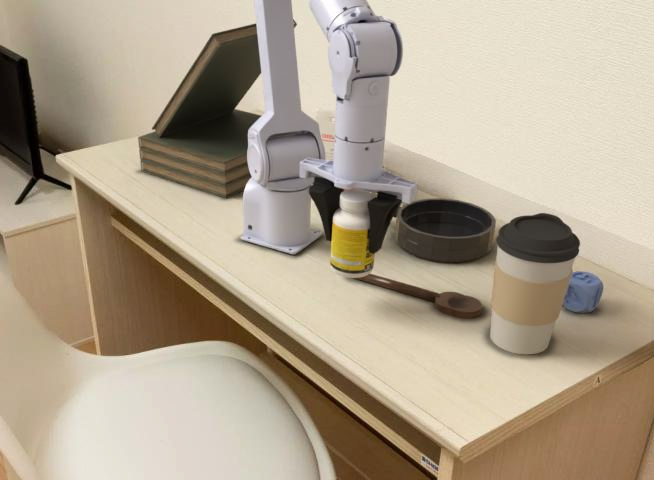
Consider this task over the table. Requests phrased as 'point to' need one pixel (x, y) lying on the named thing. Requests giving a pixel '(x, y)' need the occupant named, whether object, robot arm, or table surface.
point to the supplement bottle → (352, 235)
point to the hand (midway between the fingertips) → (353, 244)
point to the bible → (209, 118)
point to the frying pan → (445, 230)
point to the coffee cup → (530, 281)
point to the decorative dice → (583, 292)
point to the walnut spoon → (433, 297)
